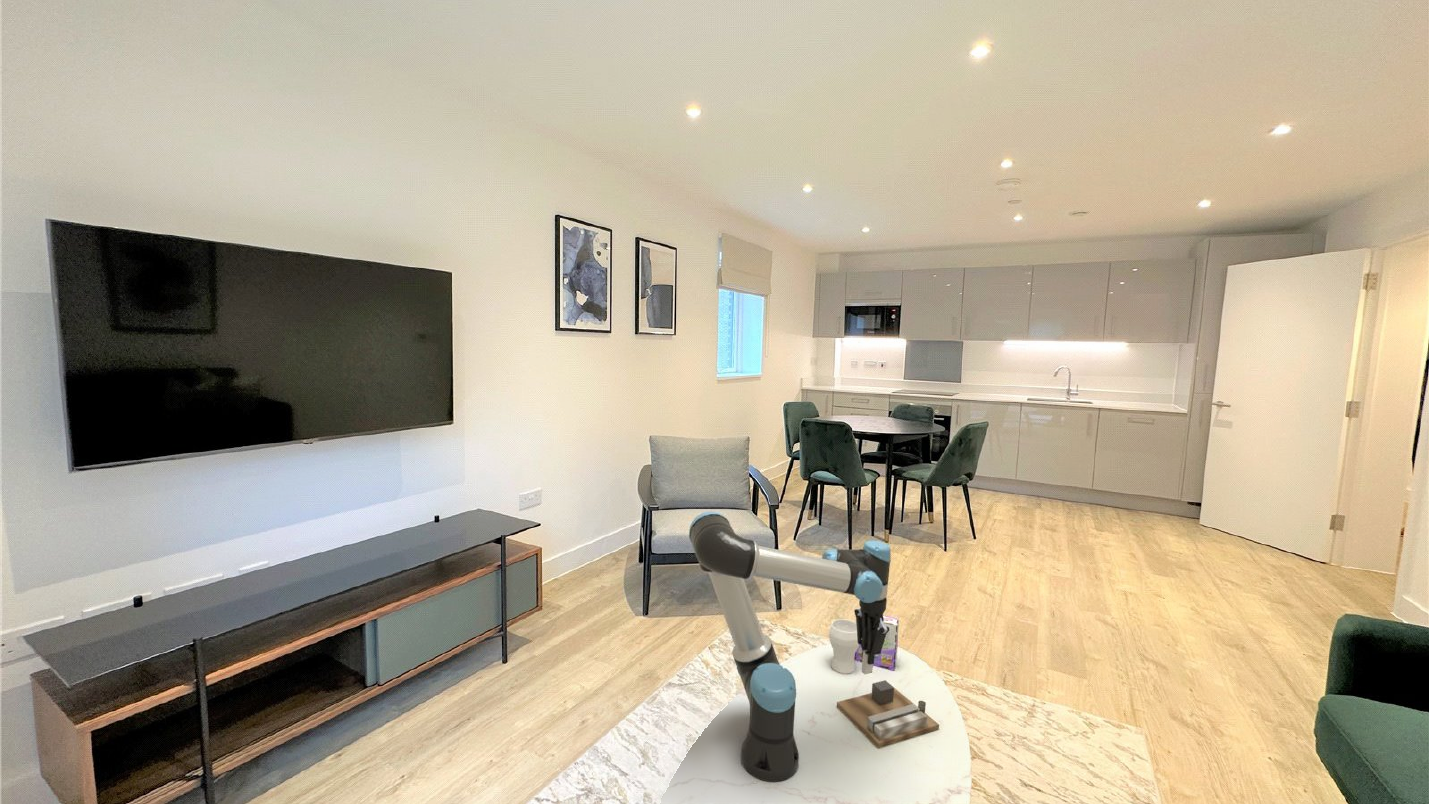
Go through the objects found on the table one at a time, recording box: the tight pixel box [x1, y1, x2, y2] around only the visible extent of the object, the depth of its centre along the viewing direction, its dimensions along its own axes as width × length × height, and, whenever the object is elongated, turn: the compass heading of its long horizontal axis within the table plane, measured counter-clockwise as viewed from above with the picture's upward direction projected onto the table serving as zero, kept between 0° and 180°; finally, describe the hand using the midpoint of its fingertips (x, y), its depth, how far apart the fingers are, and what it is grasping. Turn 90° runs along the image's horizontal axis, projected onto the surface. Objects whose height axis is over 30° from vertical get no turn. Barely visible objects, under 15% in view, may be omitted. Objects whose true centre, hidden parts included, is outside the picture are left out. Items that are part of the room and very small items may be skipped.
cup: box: [828, 618, 860, 675], centre depth 189 cm, size 11×11×15 cm
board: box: [836, 687, 940, 750], centre depth 164 cm, size 22×19×6 cm
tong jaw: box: [867, 703, 920, 732], centre depth 159 cm, size 17×2×3 cm, turn 113°
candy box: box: [854, 614, 900, 671], centre depth 193 cm, size 14×6×16 cm, turn 65°
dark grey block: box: [871, 680, 895, 705], centre depth 170 cm, size 5×4×4 cm
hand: (866, 672), depth 163 cm, fingers closed
